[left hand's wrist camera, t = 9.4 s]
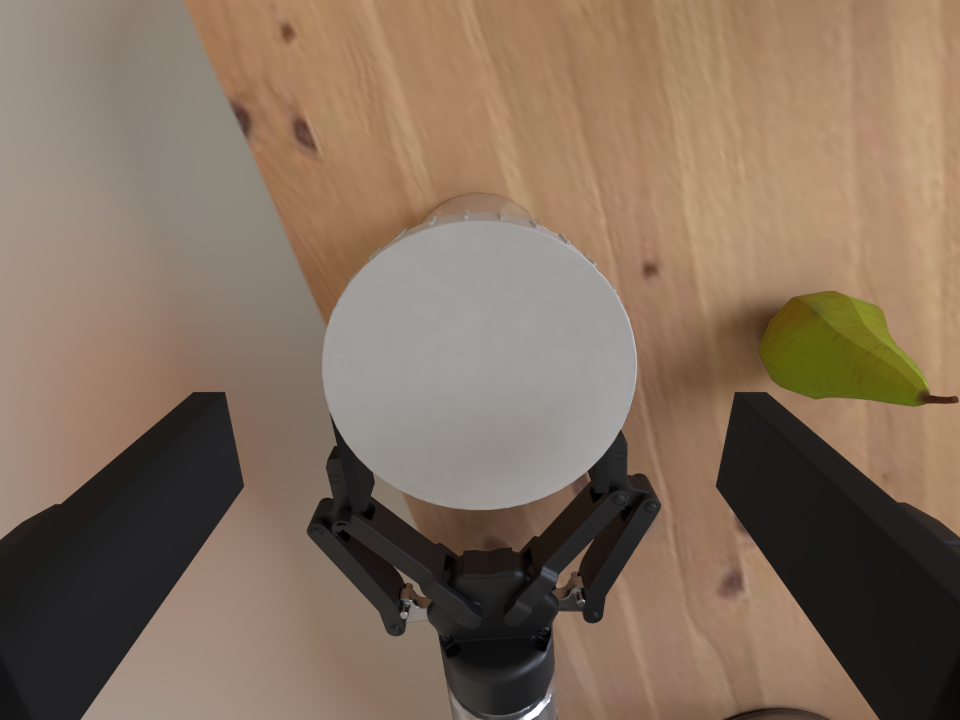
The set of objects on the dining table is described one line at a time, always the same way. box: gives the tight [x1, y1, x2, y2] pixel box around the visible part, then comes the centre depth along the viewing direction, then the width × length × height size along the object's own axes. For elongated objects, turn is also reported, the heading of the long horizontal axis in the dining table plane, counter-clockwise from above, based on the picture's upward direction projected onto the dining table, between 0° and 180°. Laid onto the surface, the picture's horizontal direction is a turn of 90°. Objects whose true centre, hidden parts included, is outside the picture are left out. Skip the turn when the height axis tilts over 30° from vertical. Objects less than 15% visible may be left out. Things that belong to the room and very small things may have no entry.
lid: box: [322, 210, 637, 510], centre depth 17 cm, size 10×10×2 cm
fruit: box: [759, 291, 959, 406], centre depth 28 cm, size 6×6×12 cm
